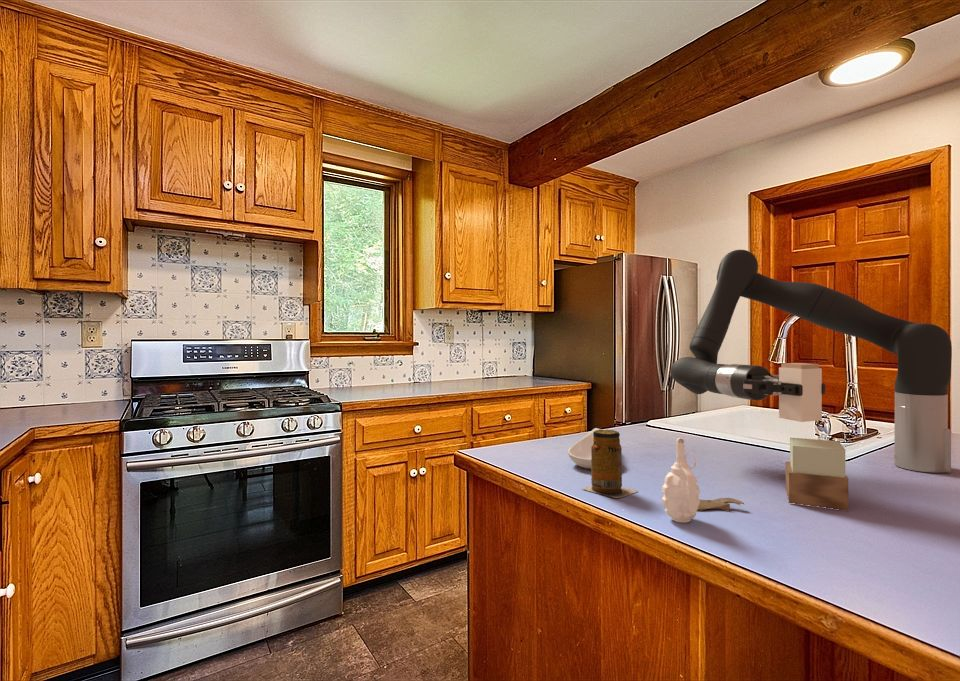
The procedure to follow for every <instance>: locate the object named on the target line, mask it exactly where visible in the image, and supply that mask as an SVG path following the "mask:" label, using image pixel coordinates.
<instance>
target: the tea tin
mask: <svg viewBox="0 0 960 681" xmlns="http://www.w3.org/2000/svg"><path fill="white" fill-rule="evenodd" d="M780 365H781V366H780V367H778V375H779V381H781V382H783V383H793V384H801V385H802V386H803V394H802V396H794V395H786V394H783V395H778V418H779V419H784V420H789V421H795V422H800V423H806V422H817V421H822V420H823V419H822V418H823V417H822V416H823V414H822V413H823V411H822V410H823V409H822V408H823V406H822V404H823V403H822V402H823V401H822V399H823V398H822V396H823V394H822V383H823V381H822V380H823V375H822V374H823V373H822V371H823V369H822V368H820V363H806V362H789V363H788V362H787V363H781V364H780Z"/></svg>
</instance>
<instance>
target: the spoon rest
mask: <svg viewBox="0 0 960 681" xmlns="http://www.w3.org/2000/svg"><path fill="white" fill-rule="evenodd" d="M596 430H602V429H601V428H597V427H595V428H593V429H592V430H591V431H590V432H589V433H588V434H586V435H585V436H584V437H583V438H581V439H579V440H578V441H577V442H575V443H574V444H573V445H572V446H570V448H569V449H568V450H567V455H568V457H569V459H570V460H571V461H572V462H573V463H574V464H575V465H577V466H579V467H580V468H583V469H587V470H591V446H592V444H593V443H594V441H593V437H594V436H593V433H594V431H596ZM603 430H609V429H608V428H605V429H603Z"/></svg>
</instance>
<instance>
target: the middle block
mask: <svg viewBox="0 0 960 681" xmlns="http://www.w3.org/2000/svg"><path fill="white" fill-rule="evenodd" d="M789 446H790V447H789V462H790V464H791V468H792V472H793V473H802V474H812V475H821V476H831V477H841V478H845V475H846V449H845V447H844V446H843V445H842V443H841V442H840V441H839V440H827V439H814V438H802V437H801V438H800V437H789Z"/></svg>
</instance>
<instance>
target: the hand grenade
mask: <svg viewBox="0 0 960 681" xmlns="http://www.w3.org/2000/svg"><path fill="white" fill-rule="evenodd" d="M675 444H676V457H675V458H676V461H675V462H674V463H673V465H672V466H670V469H671V470H670V471H669V472H668V473H667V474H666V476H664V481H663V482H664V483H663V485H662V487H661V493H662V494H663V497H661V502H662V503H661V504H662V506H663V507H665V509H664V512H665V515H667V516H668V517H670V518H671V520H672V521H674V522H677V523H681V524H682V523H684V524H685V523H690V522H691V521H692V519H695V517H696V516H697V512H698V511H697V510H698V506H699V503H700V497H699V496H700V493H701V491H700V486H698V485H697V483H698V480H697V477H696V476H695V475H694V472H693V471H692V470H694V469H695V467H696V465H697V458H696V456H695V455H694V453H692V451H687V452H686V453H685V451H686V449H685V439H684V438H680V437H678V438H677V439H676V443H675ZM688 454H691V455H692V456H693V459H694V462H693V466H692V467H690V466H689V464H688V460H687V455H688Z"/></svg>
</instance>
